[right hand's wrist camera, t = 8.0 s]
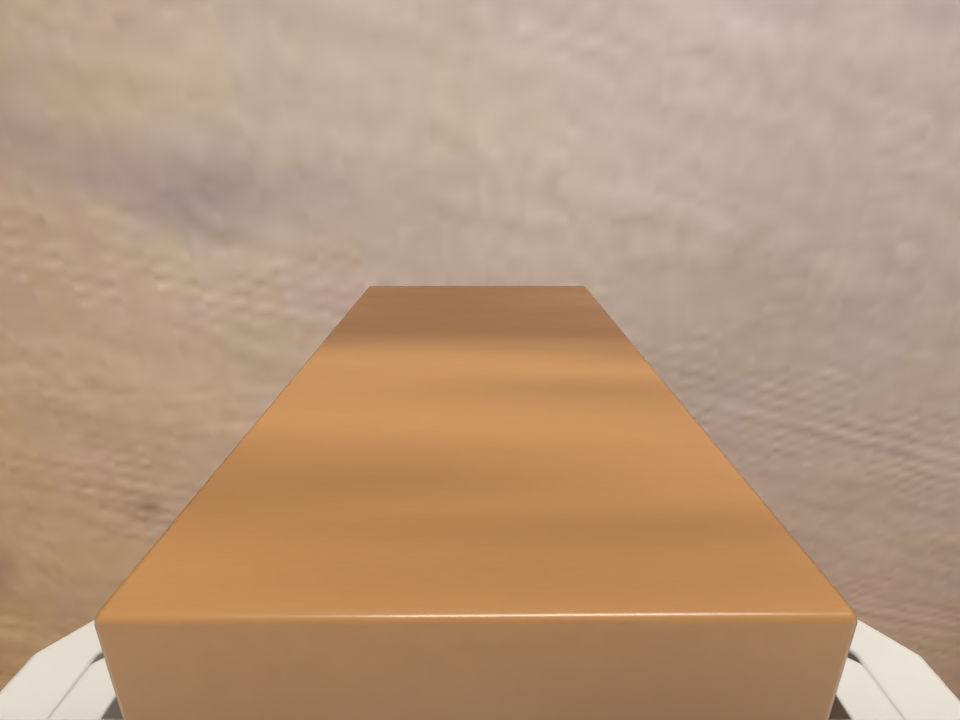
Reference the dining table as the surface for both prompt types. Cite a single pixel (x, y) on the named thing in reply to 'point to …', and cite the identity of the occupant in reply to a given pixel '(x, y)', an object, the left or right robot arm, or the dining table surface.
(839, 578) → the dining table surface
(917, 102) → the dining table surface
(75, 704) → the right robot arm
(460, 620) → the box
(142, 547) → the dining table surface
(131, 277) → the dining table surface
